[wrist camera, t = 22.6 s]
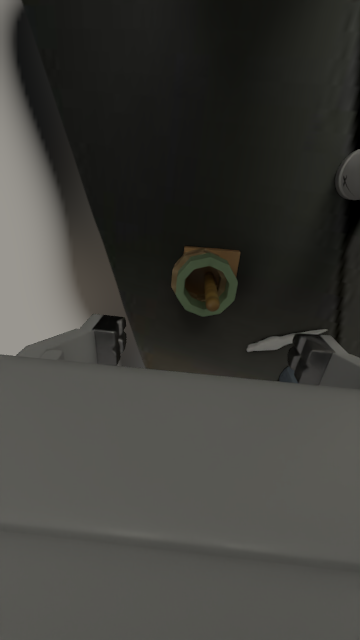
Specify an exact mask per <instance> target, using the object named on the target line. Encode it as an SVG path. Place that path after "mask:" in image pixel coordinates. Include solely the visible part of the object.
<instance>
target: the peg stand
mask: <svg viewBox="0 0 360 640" xmlns="http://www.w3.org/2000/svg"><path fill="white" fill-rule="evenodd" d="M201 248H204V247H192V246H185V247H184V253H185V252H187V251H192V250H197V249H201ZM204 249H206V250H208V251H211V252H213V253H215V254H217V255H219V256H220V257H221V258H223V259H225V260H227V261H228V263H229V265H230V267H231V269H232V271H233V273H234V275H235V277H236V275H237V270H238V264H239V259H240V253H241V252H240V251H239V250H227V249H216V248H204ZM218 278H219V273H218V271H217V269H215V268H213V267H211V266H207V267H202V268H197V269H194V270H193V271H192V272H191V274H190V275H189V276H188V277H187V278H186V279H185V288H186V290H187V291H189V292H192V293H194V294H196V295H199V294H204V293H205V305H206V308H207V309H208V310H209V311H211V312H214V311H217V310H218V309H219V307H220V302H219V297H218V292H217V287H216V285H217V284H218Z"/></svg>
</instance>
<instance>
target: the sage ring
mask: <svg viewBox="0 0 360 640" xmlns="http://www.w3.org/2000/svg"><path fill="white" fill-rule="evenodd" d="M207 266H211V267H213V268H215V269H217V270H220V271H222V272H223V273H224V275H225V277H226V279H227V281H226V287H225V291H224V292H223V293H222V294H221V295H220V296H219V302H220V307H219V309H218V310H217V311H214V312H211V311H209V310H208V309H207V308H206V305H205V302H201V301H199V300H197V299H194V298H192V297H191V296H190V294H189V293H188V291H187V290H186V288H185V279H186V278H187V277H188V276H189V275H190V274H191V272H192V271H193V270H194V269H197V268H202V267H207ZM237 285H238V281H237V279H236V277H235V275H234V273H233V271H232V269H231V267H230V265H229V263H228V261H227V260H225V259H223V258H221V257H219V256H216V255H214V254H212V253H205V254H201V255H196V256H192V257H190V258H189V259H188V260H187V262H186V263H185V264H184V265H183V266H182V267H181V268H180V270H179V271H178V275H177V282H176V296H177V298H178V299H179V301H180V302H181V304H182V306H183V307H184V309H185V310H187V311H190V312H192V313H194V314H197V315H199V316H202V317H204V316H209V315H215V314H220V313H222V312H223V311H224V310H225V309H226V308H227V307H228V306H229V305H230V304H231V303H232V302H233V301H234V300H235V295H236V290H237Z"/></svg>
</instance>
